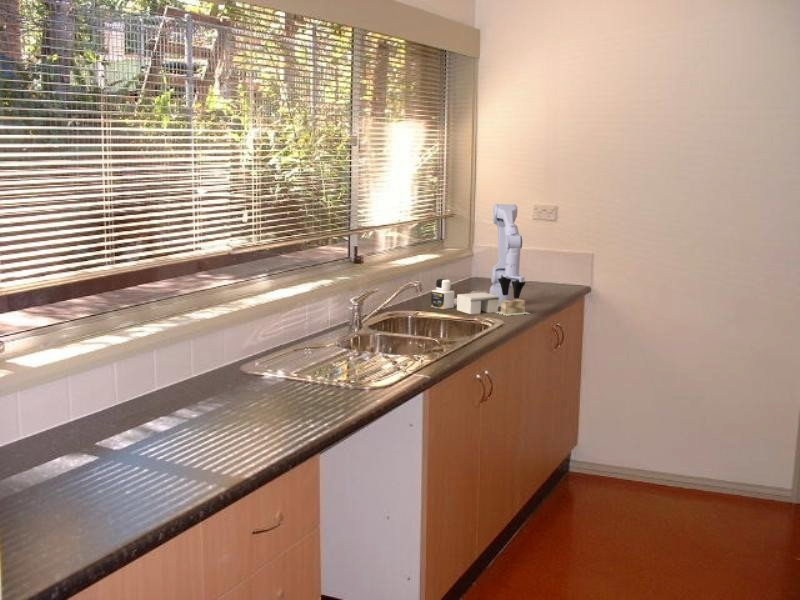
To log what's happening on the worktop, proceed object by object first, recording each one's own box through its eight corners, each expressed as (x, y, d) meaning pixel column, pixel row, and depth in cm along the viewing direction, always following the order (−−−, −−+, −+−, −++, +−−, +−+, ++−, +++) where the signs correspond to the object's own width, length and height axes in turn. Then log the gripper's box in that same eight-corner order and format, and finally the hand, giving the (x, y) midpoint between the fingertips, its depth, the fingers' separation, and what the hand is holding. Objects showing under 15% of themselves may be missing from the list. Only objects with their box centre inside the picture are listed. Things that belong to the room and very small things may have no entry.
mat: (495, 312, 395) (495, 311, 395) (518, 310, 401) (518, 309, 401) (507, 316, 389) (507, 315, 388) (530, 314, 395) (530, 313, 395)
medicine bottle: (430, 306, 404) (431, 279, 402) (441, 305, 409) (442, 277, 407) (443, 309, 399) (444, 281, 397) (454, 307, 404) (455, 279, 402)
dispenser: (456, 310, 398) (457, 294, 397) (483, 308, 406) (484, 292, 404) (470, 314, 390) (471, 298, 389) (498, 312, 397) (499, 296, 396)
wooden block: (519, 311, 399) (520, 299, 398) (524, 312, 396) (525, 300, 395) (500, 312, 394) (501, 300, 393) (505, 313, 391) (505, 302, 390)
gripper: (494, 262, 395) (492, 294, 397) (515, 267, 383) (513, 300, 385) (507, 261, 398) (506, 293, 401) (529, 266, 386) (527, 299, 389)
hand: (510, 296), depth 393 cm, fingers open, 7 cm apart
